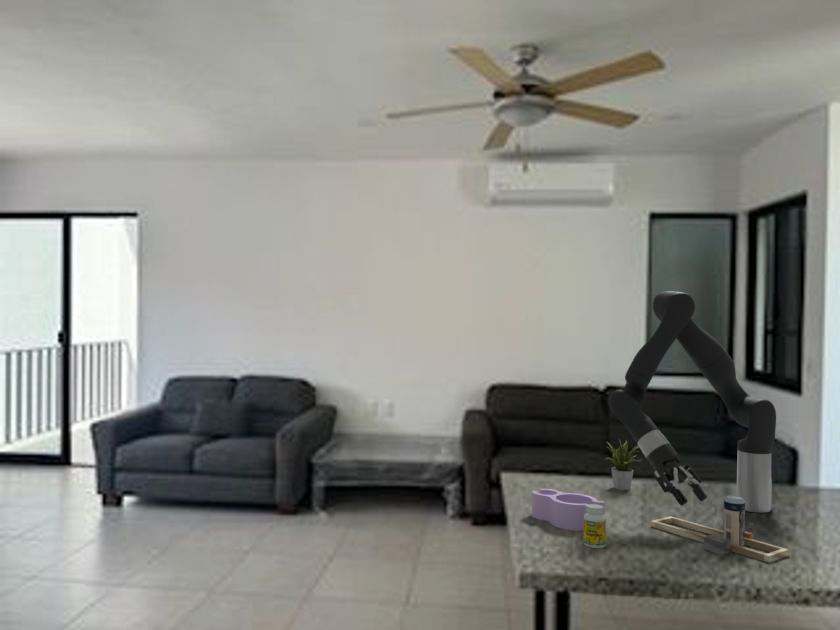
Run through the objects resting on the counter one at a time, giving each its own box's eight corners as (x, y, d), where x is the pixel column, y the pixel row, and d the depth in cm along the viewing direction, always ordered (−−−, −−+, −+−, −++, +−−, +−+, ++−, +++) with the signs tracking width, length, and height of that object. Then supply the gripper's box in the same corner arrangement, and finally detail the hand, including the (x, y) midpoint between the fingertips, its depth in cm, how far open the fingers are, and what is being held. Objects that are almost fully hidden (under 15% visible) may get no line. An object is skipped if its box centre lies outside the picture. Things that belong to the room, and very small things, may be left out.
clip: (522, 518, 192) (522, 493, 192) (549, 510, 200) (549, 486, 200) (583, 535, 177) (584, 508, 177) (609, 526, 186) (610, 500, 186)
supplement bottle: (606, 543, 171) (607, 504, 171) (605, 549, 165) (606, 510, 166) (584, 540, 172) (584, 502, 172) (582, 547, 167) (583, 507, 167)
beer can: (746, 549, 168) (747, 500, 168) (725, 547, 169) (726, 498, 169) (741, 543, 173) (742, 495, 173) (721, 541, 174) (722, 494, 174)
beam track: (674, 520, 192) (674, 509, 192) (792, 554, 165) (792, 542, 165) (639, 529, 183) (639, 517, 183) (758, 566, 156) (758, 553, 156)
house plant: (652, 495, 220) (653, 444, 220) (609, 493, 221) (610, 442, 221) (639, 484, 235) (640, 436, 235) (598, 483, 235) (599, 435, 235)
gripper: (649, 444, 183) (687, 497, 174) (682, 440, 191) (719, 490, 182) (633, 461, 188) (668, 513, 178) (665, 456, 196) (701, 505, 186)
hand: (694, 501), depth 180 cm, fingers open, 8 cm apart
